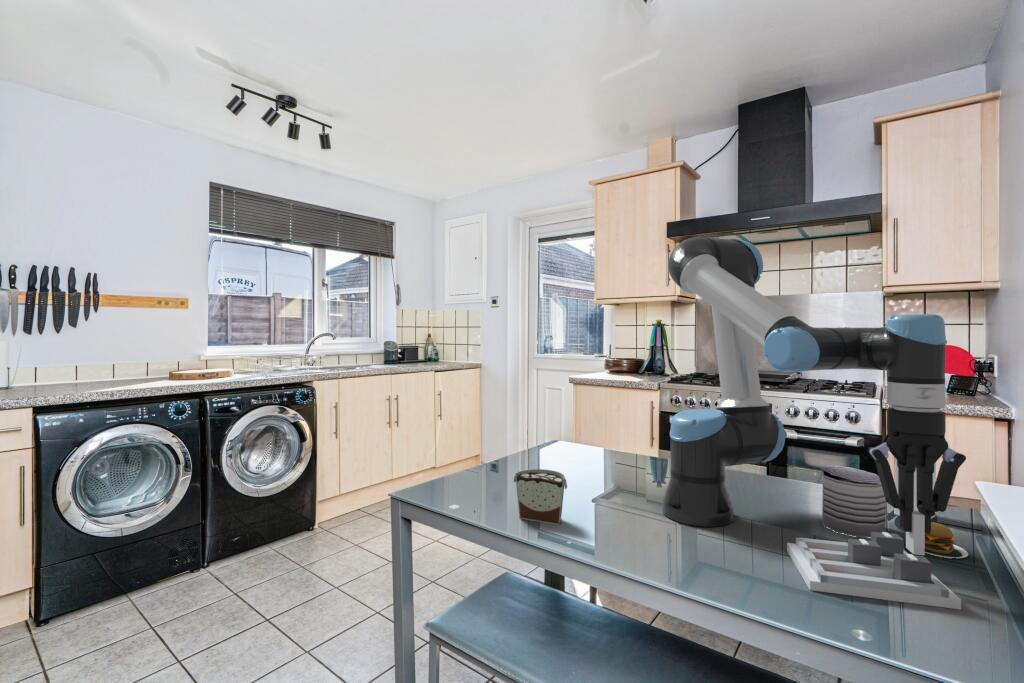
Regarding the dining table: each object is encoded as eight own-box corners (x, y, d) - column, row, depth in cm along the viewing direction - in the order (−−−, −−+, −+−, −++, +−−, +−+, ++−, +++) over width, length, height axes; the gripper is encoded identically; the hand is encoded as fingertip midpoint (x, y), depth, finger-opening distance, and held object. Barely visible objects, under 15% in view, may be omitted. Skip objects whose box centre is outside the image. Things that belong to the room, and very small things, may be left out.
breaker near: (900, 585, 78) (900, 558, 78) (893, 577, 80) (893, 552, 80) (930, 588, 77) (931, 561, 77) (922, 581, 79) (923, 555, 79)
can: (828, 514, 113) (829, 461, 113) (890, 528, 105) (891, 471, 105) (814, 528, 105) (815, 471, 105) (880, 544, 97) (881, 483, 97)
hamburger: (955, 572, 87) (956, 541, 87) (882, 545, 98) (882, 517, 98) (994, 560, 92) (994, 531, 92) (920, 535, 103) (920, 509, 103)
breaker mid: (852, 567, 84) (853, 542, 84) (847, 561, 86) (847, 537, 86) (880, 570, 83) (880, 545, 83) (874, 564, 85) (874, 539, 85)
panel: (809, 590, 80) (810, 573, 80) (786, 550, 95) (787, 536, 94) (960, 609, 74) (961, 591, 74) (912, 564, 89) (912, 549, 89)
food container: (574, 516, 112) (574, 472, 112) (565, 526, 107) (565, 479, 106) (524, 508, 117) (524, 466, 117) (513, 517, 112) (513, 473, 111)
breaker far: (876, 559, 87) (876, 535, 87) (870, 553, 89) (870, 530, 89) (903, 562, 86) (903, 538, 86) (897, 556, 88) (897, 533, 88)
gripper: (878, 410, 80) (878, 556, 80) (977, 413, 76) (977, 566, 77) (860, 404, 87) (860, 538, 88) (950, 406, 84) (950, 546, 84)
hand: (915, 551), depth 82 cm, fingers closed
